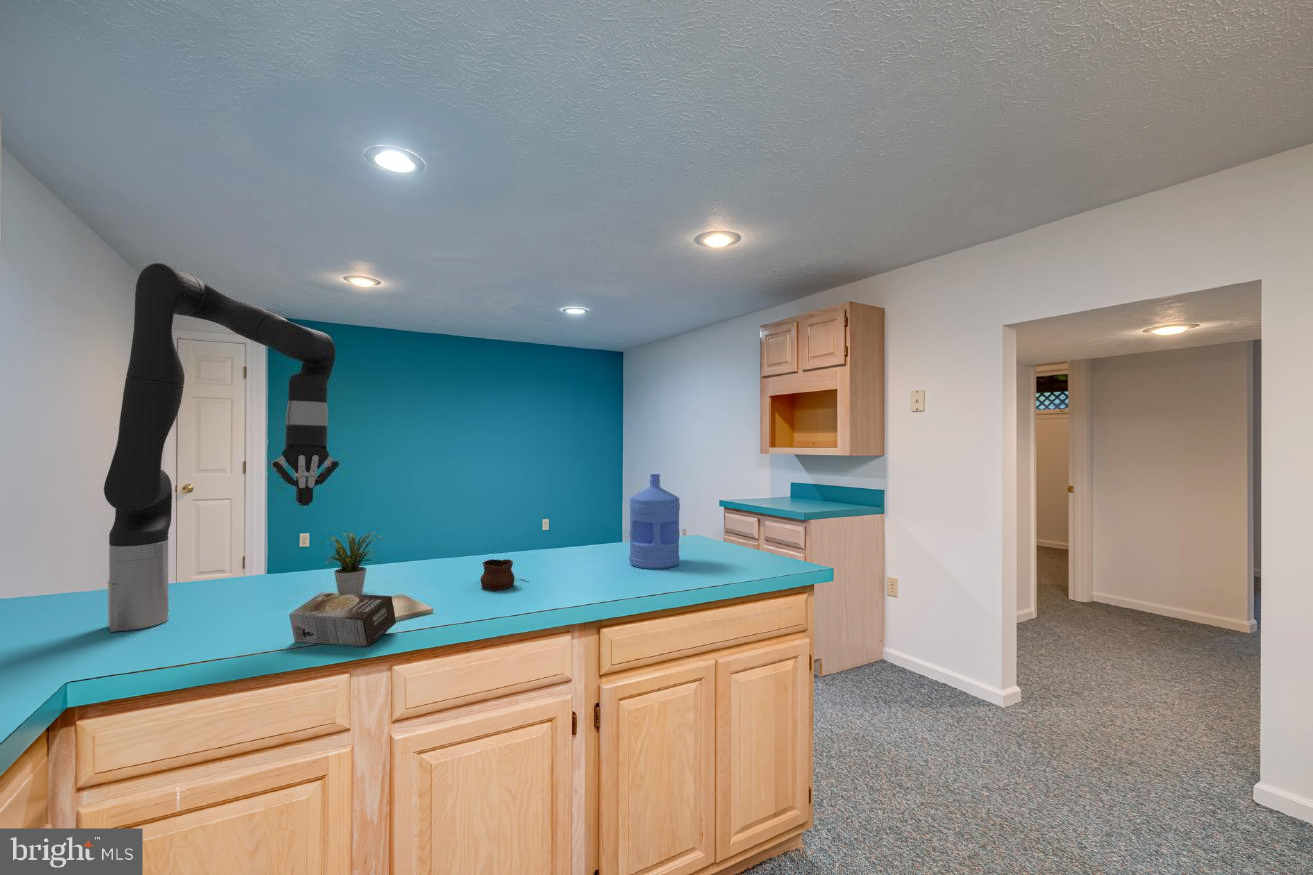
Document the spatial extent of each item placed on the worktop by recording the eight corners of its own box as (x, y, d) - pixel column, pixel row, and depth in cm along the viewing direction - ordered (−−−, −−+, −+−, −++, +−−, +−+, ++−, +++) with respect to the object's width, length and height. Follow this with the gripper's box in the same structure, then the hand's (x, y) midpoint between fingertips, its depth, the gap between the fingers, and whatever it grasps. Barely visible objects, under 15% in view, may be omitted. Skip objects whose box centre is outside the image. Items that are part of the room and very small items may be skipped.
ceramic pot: (516, 575, 164) (515, 550, 164) (543, 590, 150) (543, 563, 150) (452, 586, 153) (452, 560, 153) (475, 603, 139) (475, 574, 139)
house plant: (394, 585, 152) (394, 523, 152) (378, 600, 139) (378, 533, 138) (336, 587, 150) (336, 524, 150) (314, 603, 136) (314, 534, 136)
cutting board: (341, 633, 116) (341, 628, 116) (316, 615, 127) (316, 611, 127) (433, 612, 130) (433, 608, 130) (403, 598, 141) (403, 594, 141)
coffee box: (321, 590, 118) (393, 593, 116) (326, 618, 120) (397, 622, 118) (287, 613, 110) (364, 618, 107) (293, 643, 111) (369, 648, 109)
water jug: (627, 558, 187) (628, 472, 186) (675, 557, 188) (676, 472, 188) (630, 570, 171) (631, 476, 171) (682, 569, 173) (683, 476, 172)
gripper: (274, 422, 114) (271, 509, 114) (346, 424, 124) (344, 505, 124) (265, 422, 119) (262, 505, 119) (335, 424, 129) (333, 501, 129)
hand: (304, 505), depth 121 cm, fingers closed
